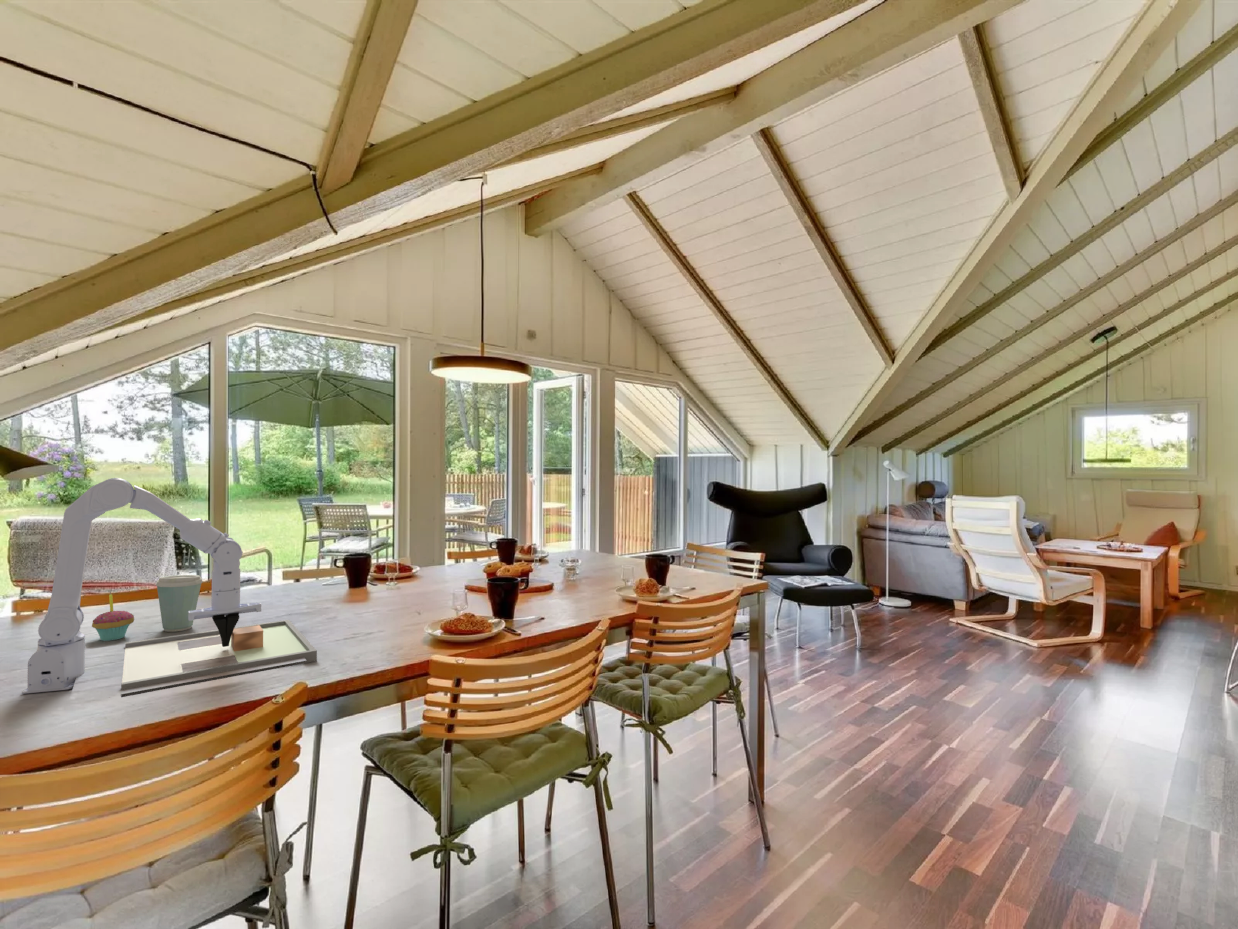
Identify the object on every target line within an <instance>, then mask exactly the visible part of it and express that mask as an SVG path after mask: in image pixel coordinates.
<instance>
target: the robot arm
mask: <svg viewBox="0 0 1238 929" xmlns="http://www.w3.org/2000/svg"><path fill="white" fill-rule="evenodd" d="M128 504H130V506H129V508H130V509H136V510H142V511H143V510H145V511H147V512H149V513H151V514H153V515H154V516H155V517H157V518H159V519H161V520H162V521H164V522H165V523H167V524H169V525H171V526H173V527H174V528H176V529H177V530H178V531H179V538H180V539H181V540H183V541H184V542H186V543H188V544H190V545H191V546H193V547H195V549H197V550H199V551H201V552H202V553H203V554H205V555H206V554H209V555H210V556H211V558H212V559H213V560H212V561H213V562H212V571H211V606H210V607H207V608H206V607H204V608H200V609H196V610H193V611H188V620H189V621H192V620H194V621H195V620H201V619H207V618H212V621H213V623H214V624H215V626H216V628H217V630H219V633H220V636H219V637H220V639H221V644H222V646H223V647H226V646H229V642H230V638H231V635H232V632H233V630H234V628H235V627H237V626H236V625H237V623H238V622H239V620H240V615H241V614H247V613H254V612H255V613H261V612H262V603H261V602H250V603H247V602H246V603H241V568H240V566H241V562H240V560H241V558H242V556H243V551H242V547H241V545H240V544H239V543H238V542H237V541H236V540H234V538H232V537H230V536H229V535H230V534H228V533H227V532H224V533H223V532H222V531H220V530H219V529H218V528H216V527H214V526H212V525H211V524H212V522H211V521H210V520H208V519H205V520H203V519H202V518H200V517H199V518H189V517H187V516H186V515H184V514H183V513H182V512H180V511H179V510H177V509H176V508H174V507H173V506H171V505H170V504H168V503H167V502H166V501H164V500H163V499H161V498H160V497H158V496H157V495H156V494H154V493H152V492H151V491H148V490H147V489H144V488H142V487H140V486H137V484H136V485H135V484H134V485H133V484H131V482H129V481H128V480H126V479H124V478H120V477H113V478H108V479H105V480H103V481H101V482H99V483H97V484H95V485H92V486H91V487H90V488H88V489H87V490H86V491H84V493H82V494H81V495H80V496H79V497H78V498H77V499H75V501H73V502H72V503H71V504H70V505H68V506H67V507H66V508H65V510H64V513H63V519H62V524H61V525H62V526H61V530H60V537H59V538H60V539H59V544H58V549H57V556H56V565H55V570H54V576H53V577H54V578H53V584H52V591H51V596H50V599H49V604H48V608H47V613H46V614H45V616H44V618H43V620H42V621H41V622H40V623H39V625H38V630H37V632H38V636H39V637H40V638H39V639H38V640H37V649H36V651H35V652H34V653H32V655H31V656H30V657H29V658H28V661H27V688H25V689H24V690H21V694H24V695H25V694H33V693H34V694H35V693H45V692H56V691H66V690H67V691H68V690H71V689H73V688H74V686H75V683H76V680H77V677H80V676H82V675H84V674H85V672H86V671H85V668H86V667H85V666H86V664H85V662H86V660H85V657H86V656H85V655H86V654H85V652H86V646H85V645H86V638H85V637H86V634H85V633H82V632H81V631H80V630H81V625H83V622H84V619H85V615H84V612H83V610H82V608H81V600H82V598H81V597H82V589H83V583H84V582H83V581H84V576H85V568H86V562H87V555H88V548H89V540H90V535H91V528H92V523H93V522H92V521H93V520H96V519H97V518H99V517H100V516H102V515H104V514H105V513H106V512H109V511H112V510H117V509H119V508H122V507H123V508H124V507H125V506H126V505H128Z"/></svg>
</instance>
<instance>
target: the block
mask: <svg viewBox="0 0 1238 929" xmlns="http://www.w3.org/2000/svg"><path fill="white" fill-rule="evenodd" d="M231 646H232V648H233V650H234V651H241V650H247V649H253V648H259V647H263V629H262V628H261V627H260V625H257V626H250V627H243V628H236V629H234V630H233V632H232V635H231Z"/></svg>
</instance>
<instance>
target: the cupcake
mask: <svg viewBox="0 0 1238 929" xmlns="http://www.w3.org/2000/svg"><path fill="white" fill-rule="evenodd" d="M108 597H109V598H108V599H109V611H107V612H102V613H100V614H98V615H97V616H96V617H95V618H93V619H92V624H91V627H92V628H93V629H95V630H96V632H97V633H98V636H99V639H100V640H101V641H104V642H106V641H109V642H110V641H115V640H120V639H123V638H124V637H126V633H127V630H128V629H129V627H130V625H131V624H133V623H134V621H135V617H134V616H135V615H134V614H132V613H130V612H129V611H127V610H126V611H125V610H114V601H113V600H114V597H113V594H112V592H111V591H109V595H108Z"/></svg>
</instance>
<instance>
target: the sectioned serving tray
mask: <svg viewBox="0 0 1238 929" xmlns="http://www.w3.org/2000/svg"><path fill="white" fill-rule="evenodd" d="M257 625H260V627H261V628H262V629H263V647H259V648H253V649H247V650H241V651H234V650H233V648H232V646H231V638H230V642H229V646H226V647H223V646H222V643H218V644H213V645H212V644H210V645H207V646H206V645H205V646H198V647H192V648H186V649H179V645H178V644H179V643H184V642H189V641H191V642H192V641H196V640H203V639H210V638H218V637H221V636H220V633H219V630H218V629H213V630H207V631H206V630H205V631H199V632H192V633H191V632H190V633H185V634H184V633H183V634H176V635H170V636H169V635H168V636H163V637H155V638H149V639H148V638H147V639H142V640H135V641H134V640H133V641H128V642H127V641H126V642H125V644H124V645H125V648H124V658H123V659H124V660H123V668H122V676H121V686H120V687H121V688H120V690H122V691H124V690H127V689H133V688H139V687H145V686H149V685H150V686H151V685H155V684H156V685H157V684H161V683H167V682H174V681H178V680H184V679H189V678H196V677H200V676H207V675H211V674H218V673H223V672H228V671H236V670H240V669H245V668H251V667H252V668H253V667H256V666H261V665H268V664H274V663H279V662H280V663H281V662H285V661H291V660H297V659H301V658H304V659H305V660H303V661H297V662H296V661H295V662H290V663H285V664H279V665H274V666H270V667H263V668H257V669H252V670H246V671H241V672H236V673H230V674H226V675H219V676H214V677H209V678H204V679H203V678H202V679H197V680H192V681H187V682H186V681H185V682H181V683H175V684H169V685H165V686H158V687H153V688H149V689H148V688H147V689H141V690H137V691H133V692H132V691H131V692H126V693H121V694H120V696H121V698H125V697H129V696H135V695H141V694H146V693H151V692H156V691H162V690H167V689H168V690H169V689H173V688H178V687H179V688H180V687H184V686H190V685H195V684H200V683H206V682H211V681H217V680H221V679H223V680H224V679H227V678H232V677H237V676H243V675H248V674H249V675H250V674H253V673H260V672H264V671H269V670H270V671H271V670H277V669H281V668H282V669H283V668H287V667H292V666H299V665H304V664H309V663H314V662H317V660H318V659H317V657H318V656H317V655H318V653H317V652H318V650H317V649H316V648H315V646H314V645H312V643H311V642H310V641H309V640H308V639H307V638H306V637H305V636H304V635H303V633H301V631H300V630H299V629H298V628H297V627H296V626H295V624H293V622H292V621H291V620H290V619H284V620H277V621H271V622H270V621H269V622H263V623H255V624H247V625H241V626H235V628H234V629H236V628H243V627H250V626H257ZM232 656H234V657H235V659H236V661H237V662H234V663H229V664H224V665H216V666H211V667H206V668H200V669H194V670H187V671H183V666H182V665H184V664H189V663H190V664H191V663H197V662H203V661H208V660H215V659H220V658H228V657H232Z"/></svg>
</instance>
